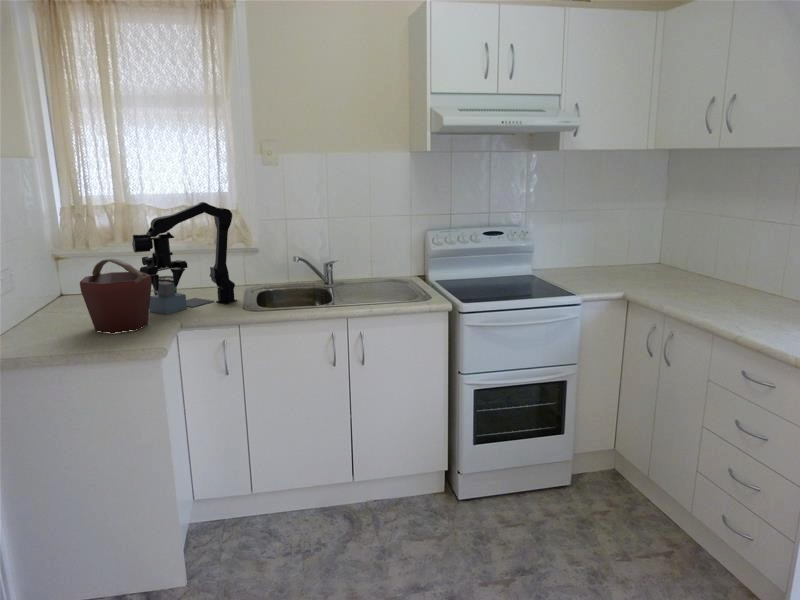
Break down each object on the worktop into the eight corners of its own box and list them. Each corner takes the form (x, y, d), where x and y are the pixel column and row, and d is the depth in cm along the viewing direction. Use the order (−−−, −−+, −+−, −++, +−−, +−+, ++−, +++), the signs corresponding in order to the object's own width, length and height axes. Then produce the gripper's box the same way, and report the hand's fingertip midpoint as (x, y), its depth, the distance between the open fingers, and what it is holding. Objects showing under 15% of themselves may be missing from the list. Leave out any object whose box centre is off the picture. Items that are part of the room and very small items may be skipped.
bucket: (164, 328, 207) (157, 259, 201) (98, 341, 192) (88, 268, 186) (138, 316, 224) (131, 252, 218) (76, 327, 209) (66, 259, 203)
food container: (186, 298, 252) (183, 276, 250) (177, 301, 246) (174, 279, 244) (162, 297, 255) (159, 275, 253) (152, 300, 250) (150, 277, 247)
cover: (186, 308, 235) (184, 282, 232) (166, 314, 226) (163, 286, 223) (170, 305, 239) (167, 280, 237) (149, 311, 231) (146, 284, 228)
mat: (214, 301, 246) (214, 300, 246) (192, 307, 236) (192, 306, 236) (194, 298, 252) (194, 297, 252) (172, 304, 241) (172, 303, 241)
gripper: (167, 245, 239) (171, 282, 242) (128, 252, 223) (132, 291, 227) (186, 247, 233) (190, 285, 237) (147, 254, 218) (151, 294, 221)
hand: (166, 288), depth 231 cm, fingers open, 9 cm apart
